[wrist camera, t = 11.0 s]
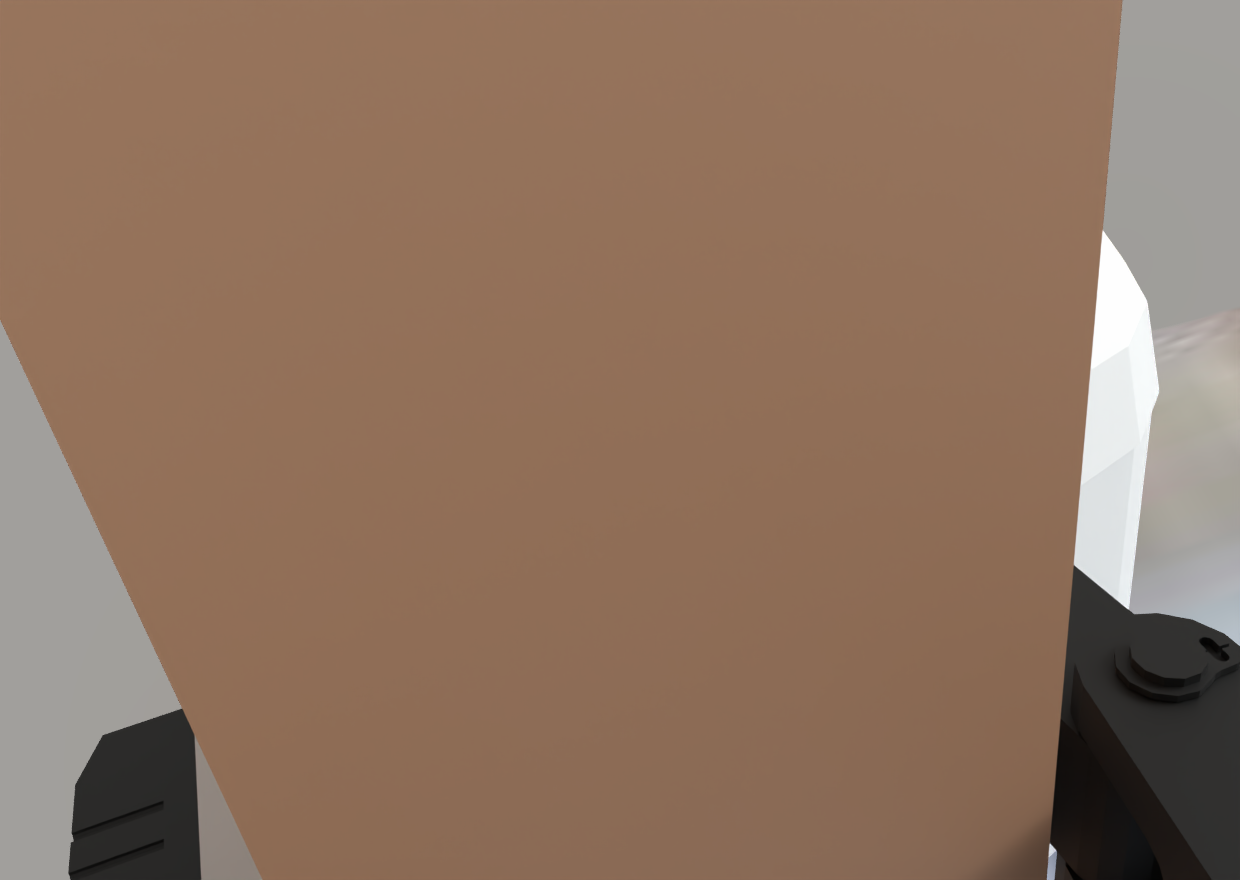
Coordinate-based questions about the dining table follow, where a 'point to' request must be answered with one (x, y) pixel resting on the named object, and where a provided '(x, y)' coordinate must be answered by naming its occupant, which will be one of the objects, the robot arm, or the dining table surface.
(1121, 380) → the container
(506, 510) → the post
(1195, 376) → the dining table surface
